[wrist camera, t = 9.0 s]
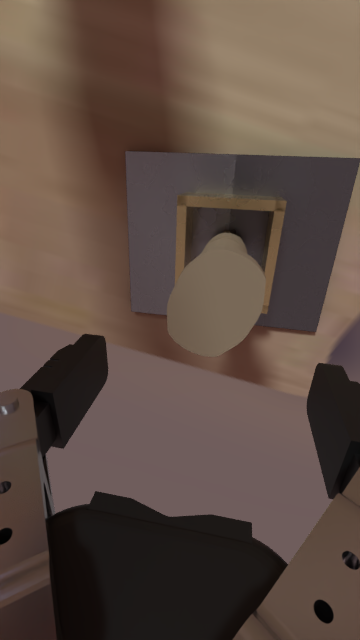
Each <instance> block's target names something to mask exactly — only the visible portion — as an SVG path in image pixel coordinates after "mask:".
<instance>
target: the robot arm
mask: <svg viewBox="0 0 360 640" xmlns="http://www.w3.org/2000/svg"><path fill="white" fill-rule="evenodd" d="M107 376H108V363H107V352H106V341H105V338H104V336H99V335H91V334H83V335H82V336H81V337H80V338H79V340H78V341H77V342H76V343H75V344H74V345H68V346H66V347H64V348H62V349H60V350H58V351H57V352H56V353H55V354H54V355H53V356H52V357H51V358H50V360H48V361H47V362H46V363H45V364H44V366H43V367H41V368H40V369H39V370H38V371H37V372H36V373H35V374H34V375H33V376H32V377H31V378H30V379H29V380H28V381H27V382H26V383H25V384H24V385H23V386H22V387H21V388H20V389H12V390H6V391H3V392H0V640H360V384H359V383H358V382H353V381H350V380H349V379H348V376H347V374H346V372H345V370H344V368H343V367H342V366H338V365H331V364H323V363H318V364H317V366H316V369H315V373H314V376H313V380H312V384H311V387H310V391H309V395H308V399H307V415H308V419H309V422H310V427H311V431H312V434H313V438H314V442H315V446H316V450H317V454H318V458H319V462H320V465H321V470H322V474H323V477H324V482H325V486H326V490H327V494H328V497H329V498H330V499H333V501H332V502H331V503H330V505H329V507H328V508H327V509H326V511H325V512H324V514H323V515H322V517H321V518H320V519H319V521H318V523H317V524H316V525H315V527H314V528H313V530H312V531H311V533H310V534H309V535H308V537H307V538H306V540H305V542H304V543H303V544H302V546H301V547H300V548H299V550H298V551H297V553H296V554H295V556H294V557H293V559H292V560H291V562H290V563H289V564H287V563H286V562H285V561H284V560H283V559H282V558H281V557H280V556H279V555H278V554H277V553H275V552H274V551H273V550H272V549H270V548H269V547H268V546H266V545H265V544H263V543H262V542H260V541H258V540H256V539H255V538H253V537H252V523H251V522H246V521H240V520H235V519H230V518H226V517H221V516H216V515H195V516H180V517H168V516H165V515H163V514H161V513H159V512H157V511H155V510H153V509H151V508H149V507H147V506H145V505H143V504H141V503H139V502H137V501H135V500H134V499H131V498H127V497H122V496H116V495H112V494H107V493H102V492H97V491H96V492H95V494H94V496H93V498H92V500H91V503H90V504H84V505H79V506H75V507H71V508H68V509H65V510H63V511H61V512H58V513H56V514H55V509H54V503H53V496H52V490H51V482H50V476H49V470H48V462H47V457H46V453H47V451H48V450H49V448H50V447H51V446H53V447H58V448H64V447H65V446H66V444H67V442H68V441H69V439H70V438H71V436H72V435H73V433H74V431H75V430H76V428H77V427H78V425H79V424H80V422H81V420H82V419H83V417H84V416H85V414H86V413H87V411H88V409H89V408H90V406H91V405H92V403H93V401H94V400H95V398H96V397H97V395H98V394H99V392H100V391H101V389H102V388H103V386H104V384H105V382H106V380H107Z"/></svg>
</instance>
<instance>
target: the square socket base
mask: <svg viewBox="0 0 360 640" xmlns="http://www.w3.org/2000/svg"><path fill="white" fill-rule="evenodd" d="M125 157H126V184H127V210H128V236H129V263H130V289H131V311H133V312H142V313H151V314H160V315H167V303H168V300H169V297H170V295H171V293H172V290H173V288H174V286H175V284H176V282H177V280H178V278H179V276H180V274H181V272H182V271H183V269H184V268H185V267H186V266H187V265H188V264H189V263H190V262H191V261H193V260H194V259H195V258H196V257H197V256H199V255H200V254H201V253H202V251H203V249H204V248H205V246H206V245H207V243H208V242H209V241H210V240H211V239H212V238H213V237H215V236H216V235H218V234H221V233H223V232H224V231H230V232H231V233H232V234H235V235H237V236H240V237H241V238H242V240H243V243H244V244H245V247H246V249H247V254H248V255H250V256H251V257H252V258H253V259H254V260H256V261H257V262H258V264H259V265H260V267H261V268H262V270H263V272H264V274H265V277H266V284H265V295H264V304H263V308H262V312H261V314H260V316H259V318H258V320H257V321H256V323H255V324H254V325H259V326H268V327H277V328H286V329H295V330H304V331H313V332H316V330H317V326H318V322H319V318H320V314H321V310H322V306H323V303H324V299H325V295H326V291H327V287H328V283H329V279H330V275H331V272H332V268H333V264H334V260H335V256H336V252H337V248H338V244H339V241H340V237H341V233H342V229H343V225H344V221H345V217H346V213H347V209H348V206H349V202H350V198H351V194H352V190H353V186H354V182H355V178H356V175H357V171H358V167H359V163H360V158H329V157H297V156H265V155H233V154H201V153H169V152H137V151H125Z"/></svg>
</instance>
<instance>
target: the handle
mask: <svg viewBox="0 0 360 640" xmlns="http://www.w3.org/2000/svg"><path fill="white" fill-rule="evenodd" d="M265 284H266V277H265V274H264V272H263V270H262V268H261V267H260V265H259V264H258V262H257V261H256V260H254V259H253V258H252V257H251V256H250V255H248V254H247V249H246V247H245V244H244V243H243V240H242V238H241V237H240V236H237V235H235V234H232V233H231V232H230V231H224V232H223V233H221V234H218V235H216V236H215V237H213V238H212V239H211V240H210V241H209V242H208V243H207V245H206V246H205V248H204V249H203V251H202V253H201V254H200V255H199V256H197V257H196V258H195V259H194V260H193V261H191V262H190V263H189V264H188V265H187V266H186V267H185V268H184V269H183V271H182V272H181V274H180V276H179V278H178V280H177V282H176V284H175V286H174V288H173V290H172V293H171V295H170V297H169V300H168V303H167V329H168V333H169V335H170V336H171V338H172V339H173V340H174V341H175V342H176V343H177V344H178V345H180V346H181V347H182V348H184V349H186V350H188V351H190V352H192V353H194V354H197V355H201V356H206V357H218V356H219V355H221V354H223V353H225V352H226V351H228V350H230V349H231V348H233V347H235V346H236V345H238V344H239V343H240V342H241V341H243V340H244V338H245V337H246V336H247V335H248V333H249V332H250V330H251V329H252V327H253V326H254V324H255V323H256V321H257V320H258V318H259V316H260V314H261V312H262V308H263V304H264V295H265Z"/></svg>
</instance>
